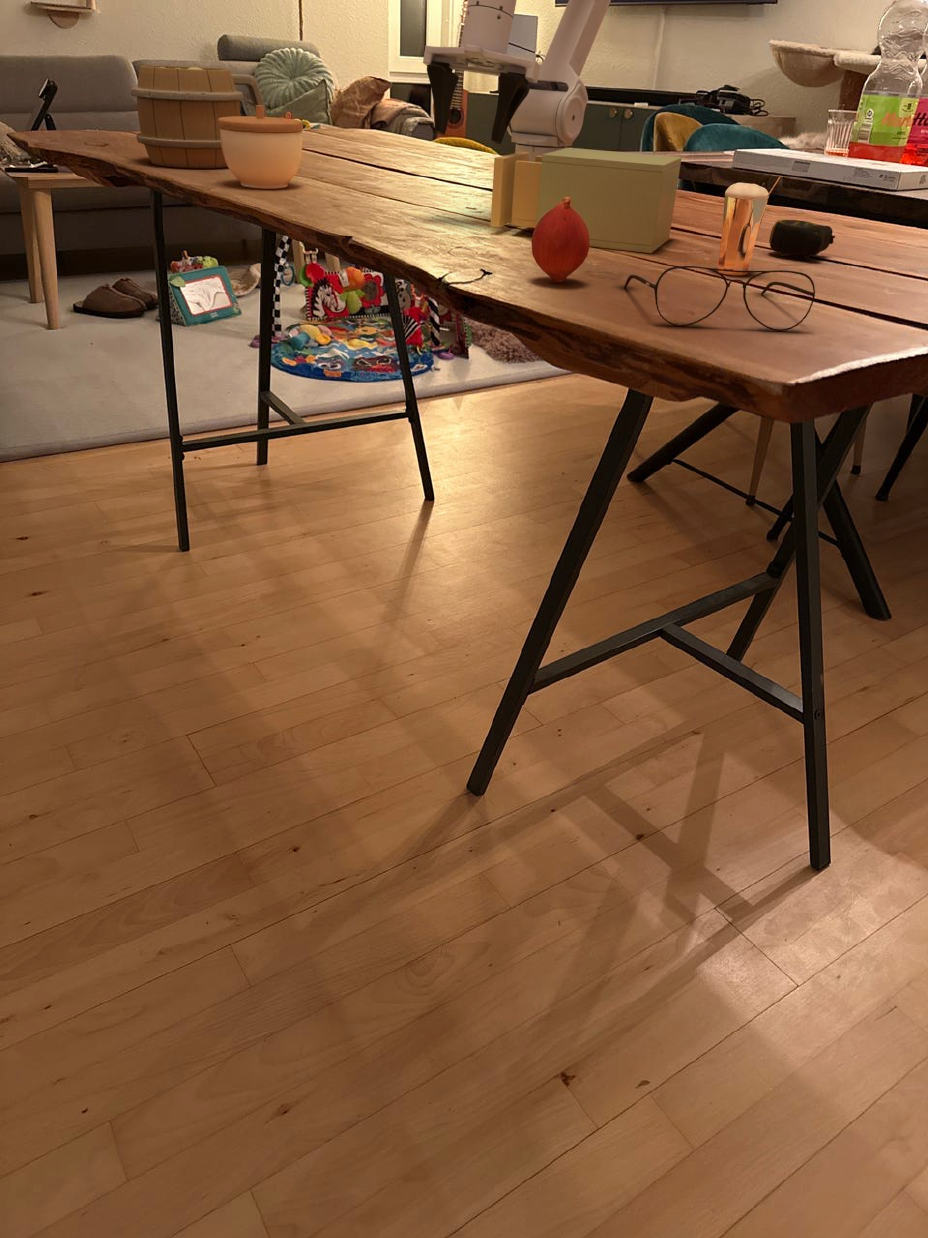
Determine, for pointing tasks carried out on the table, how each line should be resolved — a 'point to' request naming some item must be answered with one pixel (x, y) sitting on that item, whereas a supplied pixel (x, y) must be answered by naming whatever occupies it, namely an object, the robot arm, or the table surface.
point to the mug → (188, 112)
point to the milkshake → (741, 225)
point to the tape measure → (800, 238)
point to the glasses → (729, 286)
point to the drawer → (515, 190)
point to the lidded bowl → (261, 149)
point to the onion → (560, 241)
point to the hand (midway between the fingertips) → (467, 137)
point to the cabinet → (613, 195)
